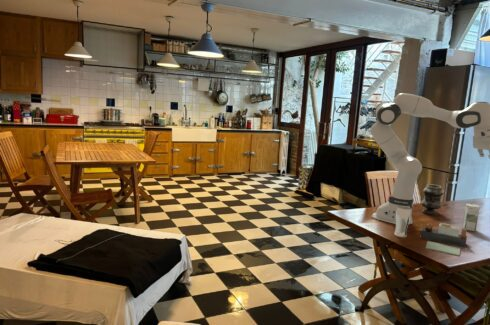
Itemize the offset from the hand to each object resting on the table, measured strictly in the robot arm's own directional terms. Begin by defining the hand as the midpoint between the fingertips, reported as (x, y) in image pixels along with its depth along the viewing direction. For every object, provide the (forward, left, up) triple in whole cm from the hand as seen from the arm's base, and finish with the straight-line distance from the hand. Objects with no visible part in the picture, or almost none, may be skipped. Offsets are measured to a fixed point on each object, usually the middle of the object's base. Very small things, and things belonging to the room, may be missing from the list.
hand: (486, 157), depth 192 cm
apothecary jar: (-24, +27, -42) cm, 56 cm away
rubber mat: (-13, -40, -42) cm, 59 cm away
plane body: (-14, -27, -42) cm, 52 cm away
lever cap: (-12, -27, -38) cm, 48 cm away
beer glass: (-33, -34, -42) cm, 63 cm away
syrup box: (-3, +4, -42) cm, 42 cm away
